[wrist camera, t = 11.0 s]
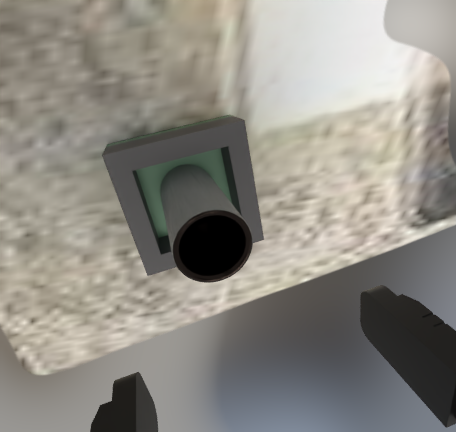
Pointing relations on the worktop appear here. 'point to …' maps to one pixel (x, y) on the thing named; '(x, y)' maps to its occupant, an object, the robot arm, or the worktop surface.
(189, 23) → the worktop surface
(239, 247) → the dark grey cylinder
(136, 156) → the socket board
